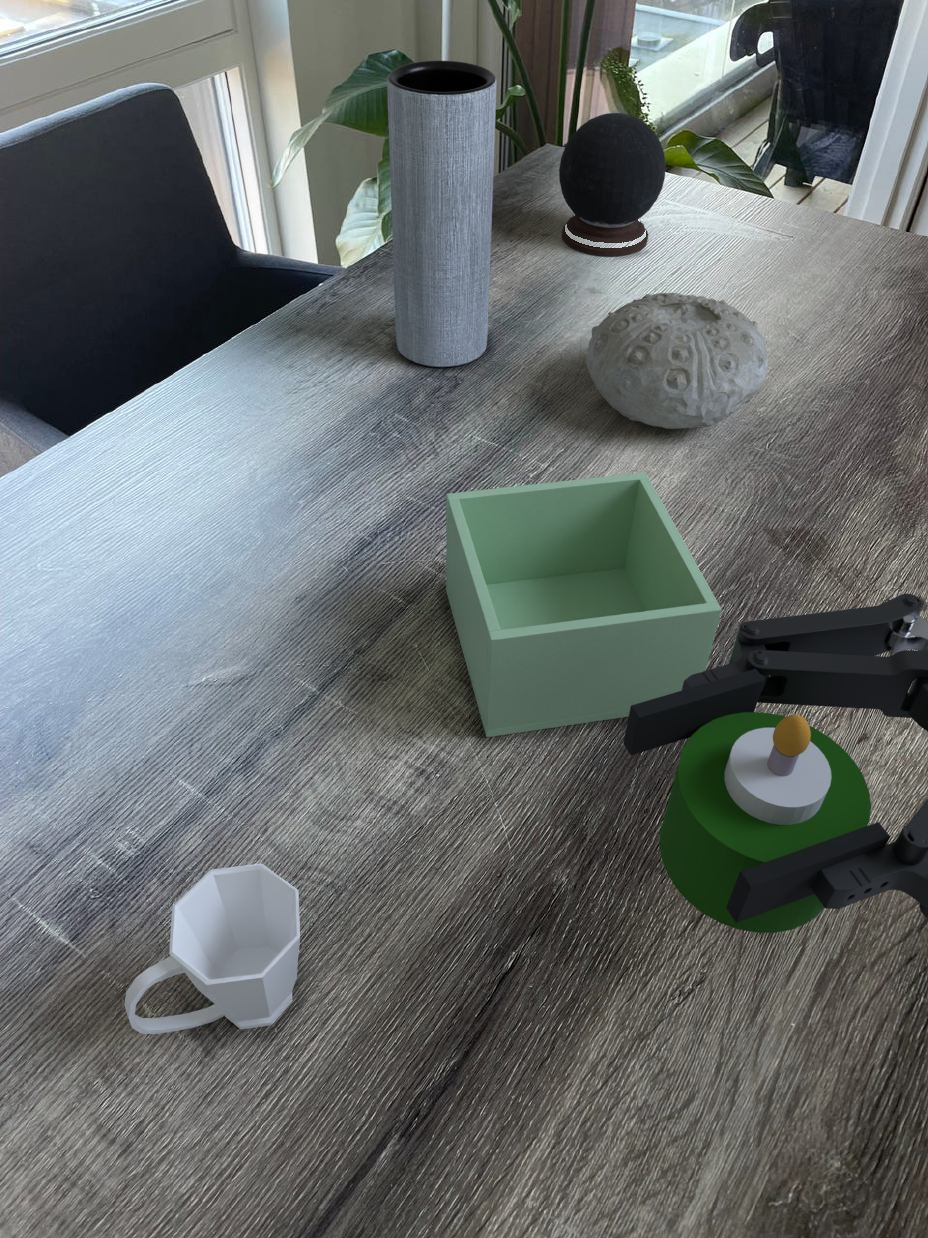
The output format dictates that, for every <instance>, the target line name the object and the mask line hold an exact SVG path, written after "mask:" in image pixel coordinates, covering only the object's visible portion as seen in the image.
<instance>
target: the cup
mask: <svg viewBox="0 0 928 1238" xmlns="http://www.w3.org/2000/svg"><path fill="white" fill-rule="evenodd" d="M299 895H300V893H299V889H298V888H296V887H295V886H293V885H292V884H291V883H289V881H287V880H285V879H284V878H283V877H281V876H280V875H278V874H277V873H275V872H274V871H273V870H272V869H270V868H268V867H267V866H266V865H265V864H263V863H262V862H261V863H253V864H246V865H238V866H236V865H235V866H229V867H221V868H212V869H210V870H208V871H207V872H206V873H205V874H204V875H203V876H202V877H201V878H200V879H199V880H198V881H196V883H195V884H194V885H193V886H191V888H190V889H188V891H186V892H185V893H184V894H183V895H182V896H181V897H180V898H178V900H177V901H176V902H174V904H173V905H172V906H171V919H170V920H171V921H170V936H169V949H168V951H169V952H168V954H169V957H166V958H164V959H162V960H160V961H159V962H157V963H155V964H153V965H151V966H149V967H148V968H146V969H145V970H143V971H142V972H141V973H140V974H138V975H137V976H136V977H135V978H134V980H133V981H132V983H131V984H130V985H129V987H128V988H127V989H126V992H125V998H124V1008H125V1013H126V1016H127V1018H128V1021H129V1024H130V1026H131V1029H133V1030H134V1031H136V1032H138V1033H139V1034H141V1035H147V1034H148V1035H158V1034H166V1033H172V1032H179V1031H184V1030H188V1029H193V1028H197V1027H201V1026H204V1025H208V1024H210V1023H213V1022H216V1021H217V1020H220V1019H221V1018H223V1017H225V1018H226V1019H227V1020H228V1021H229V1022H231V1023H232V1024H233V1025H235V1026H236V1027H237V1028H238V1029H239V1030H248V1029H254V1028H262V1027H267V1026H272V1025H273V1024H274V1023H275V1022H276V1021H277V1020H278V1019H279V1018H280V1016H281V1015H282V1014H283V1013H284V1012H285V1011H286V1009H287V1008H288V1007H289V1006H290V1005H291V1004H292V1003H293V990H294V987H295V984H296V981H297V978H298V968H299V967H298V966H299V954H300V945H301V944H300V943H301V926H300V925H301V924H300V922H301V921H300V898H299V897H300V896H299ZM183 973H185V976H187V978H188V979H189V980H190V982H191V983H192V984H193V986H194V987H195V988H196V989H197V990H198V991H199V992H200V993H201V994H202V995H203V996H205V997H206V999H208V1000H209V1001H211V1002H212V1003H213V1004H212V1005H210V1006H208V1007H204V1008H201V1009H198V1010H194V1011H191V1012H186V1013H181V1014H175V1015H169V1016H168V1015H167V1016H160V1017H141V1016H139V1015H137V1014H136V1011H137V1010H136V1007H137V1004H138V1002H140V1000H141V998H142V997H143V995H144V994H145V992H146V991H147V990H148V989H149V988H151V987H152V986H154V985H155V984H157V983H160V982H163V981H164V980H167V979H169V978H171V977H174V976H178V975H180V974H183Z"/></svg>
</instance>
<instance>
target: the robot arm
mask: <svg viewBox="0 0 928 1238" xmlns="http://www.w3.org/2000/svg"><path fill="white" fill-rule="evenodd" d="M923 606H924V603H923V600H922V599H921V598H920V597H919V596H917V595H915V594H912V593H902V594H900V595H897V596H895V597H893V598H890V599H889V600H887V601H885V602H883V603H881V604H879V605H872V606H863V607H857V608H856V607H855V608H848V609H847V608H846V609H838V610H831V611H824V612H823V611H822V612H813V613H806V614H798V615H789V616H781V617H780V616H779V617H774V618H765V619H757V620H748V621H744V622H742V623H741V624H740V625H739V628H738V632H737V634H736V637H735V641H734V645H733V648H732V652H731V654H730V659H729V663H728V664H724V665H721V666H718V667H715V668H714V667H713V668H711V669H706V670H705V671H703V672H702V673H701V672H700V673H696V674H693V675H691V676H689V677H688V678H687V679H686V680H684V683H683V687H682V691H679V692H675V693H672V694H668V695H665V696H662V697H658V698H655V699H651V700H648V701H645V702H641V703H638V704H635V705H631V707H630V712H629V717H627V724H626V727H625V733H624V739H623V743H622V744H623V746H624V747H625V749H626V751H627V752H628V754H629V755H630V756H635V755H638V754H640V753H644V752H647V751H651V750H654V749H657V748H660V747H664V746H668V745H670V744H673V743H677V742H680V741H683V740H686V739H690V737H691V736H692V735H693V734H694V733H695V732H696V731H697V730H698V729H700V728H701V727H702V726H704V725H705V724H707V723H709V722H711V721H712V720H714V719H717V718H720V717H723V716H726V715H730V714H736V713H743V712H756V707H757V706H758V705H757V704H772V705H773V704H776V705H793V706H794V705H795V706H810V707H812V706H813V707H814V706H815V707H828V708H829V707H830V708H847V709H864V710H865V709H866V710H879V711H881V713H882V715H883V716H885V717H889V718H900V719H901V718H903V719H912V720H913V721H914V722H915V723H916V725H918V726H919V727H921V728H922V729H923V730H924V731H926V732H927V733H928V620H926V619H925V618H924V617H922V616H921V615H920V614H921V611H922V609H923ZM887 652H888V653H889V655H890V656H889V655H888V656H882V654H884V653H887ZM880 655H881V656H880ZM890 838H891V835H890V834H889V833H888V832H887V830H886V829H885V828H884V827H883V825H882V824H881V823H880V822H879V821H876V822H875V823H872V824H871V823H870V824H868V826H866V827H863V828H860V829H857V830H854V831H852V832H849V833H846V834H843V835H841V836H838V837H835V838H832V839H829V840H827V841H824V842H821V843H818V844H815V845H813V846H810V847H807V848H804V849H801V850H799V851H796V852H793V853H790V854H787V855H785V856H782V857H779V858H776V859H773V860H771V861H768V862H765V863H762V864H759V865H757V866H754V867H751V868H748V869H745V870H743V871H740V872H739V875H738V878H737V880H736V883H735V885H734V888H733V891H732V893H731V896H730V898H729V901H728V904H727V906H726V908H727V910H728V911H729V913H730V915H731V916H732V918H733V919H734V921H735V922H736V923H738V922H741V921H744V920H746V919H749V918H752V917H754V916H757V915H760V914H762V913H765V912H768V911H771V910H773V909H776V908H779V907H781V906H784V905H787V904H789V903H792V902H795V901H797V900H800V899H803V898H805V897H808V896H811V895H813V894H815V895H816V896H817V898H818V899H819V901H820V902H821V903H822V905H823V906H824V909H825V910H840V909H843V908H845V907H848V906H850V905H853V904H855V903H859V902H860V901H864V900H866V899H869V898H872V897H874V896H878V895H880V894H882V893H885V892H888V891H900V892H902V893H905V894H906V895H908V896H910V897H911V898H912V899H914V900H915V901H916V902H918V904H919V905H918V906H919V910H920V912H921V913H922V915H923V916H924V918H926V919H928V798H927V799H926V800H925V802H924V803H923V804H922V805H921V806H920V808H919V809H918V810H917V811H916V812H915V814H914V815H913V816H912V818H911V819H910V821H908V823H907V824H906V825H905V824H904V825H903V826H902V828H901V830H900V832H899V833H898V835H897V837H896V839H895V841H893V842H889V841H890ZM888 842H889V843H888Z"/></svg>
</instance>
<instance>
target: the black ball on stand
mask: <svg viewBox="0 0 928 1238" xmlns="http://www.w3.org/2000/svg"><path fill="white" fill-rule="evenodd" d="M666 166H667V164H666V156H665V152H664V148H663V146H662V143H661V141H660V139H659V137H658V136H657V134H656V132H655V131H654V130H653V129H652V128H651V127H650V126H649V125H648V124H647V123H646V122H645V121H644V120H642V119H640V118H638V117H636V116H634V115H631V114H628V113H623V112H609V113H603V114H600V115H597V116H595V117H592V118H589V120H587V121H586V122H584V123H583V124H582V125H580V127H578V128H577V129H576V131H575V132H573V134H572V135H571V136H570V138H569V140H568V142H567V143H566V144H565V146H564V149H563V152H562V154H561V157H560V163H559V169H558V174H559V175H558V177H559V179H558V180H559V185H560V189H561V194H562V196H563V199H564V201H565V203H566V205H567V206H568V207H569V209H570V210H571V211H572V213H573V214H574V215H575V216H574V215H572V216H573V217H572V216H571V217H572V218H571V217H570V218H569V219H568V220H567V221H566V223H565V224H564V225H563V226H562V229H561V239H562V241H563V243H564V244H565V245H566V246H567V247H568V248H571V249H572V250H574V251H576V252H579V253H581V254H584V255H588V256H589V255H590V256H596V257H606V258H615V257H625V256H630V255H633V254H636V253H638V252H640V251H642V250H643V249H645V248H646V247H647V245H648V240H649V232H648V230H647V228H646V227H645V224H644V222H642V221H641V222H642V223H641V222H639V221H638V219H639V220H640V219H641V218H642V217H643V216H645V215H646V214H647V213H649V211H650V210H651V208H653V206H654V204H655V203H656V202H657V200H658V198H659V196H660V195H661V192H662V190H663V186H664V183H665V178H666ZM566 224H567V228H568V230H569V231H570V232H571V233H572V234H573V235H575V236H578V237H581V238H583V239H587V240H590V241H593V242H604V243H622V242H623V243H624V242H629V241H633V240H635V239H637V238H639V237H641V236H642V235H643V234H644V232H645V230H646V237H645V238H644V239H643V240H642V241H641V242H639V243H637V244H635V245H632V246H628V247H622V248H600V247H593V246H589V245H585V244H582V243H579V242H577V241H575V240H573V239H571V238H570V237H569V236H568V235H567V234H566V232H565V225H566Z"/></svg>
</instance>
